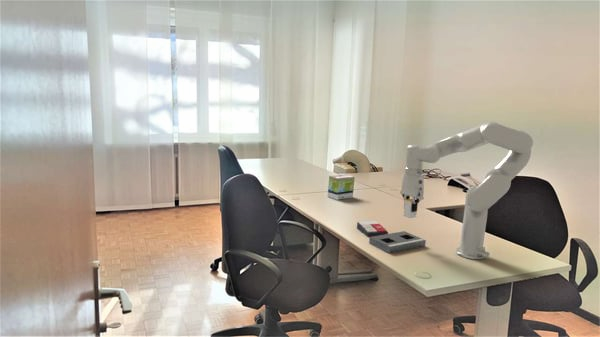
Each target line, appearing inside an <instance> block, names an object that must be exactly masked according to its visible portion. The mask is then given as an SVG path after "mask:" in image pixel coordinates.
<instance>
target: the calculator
mask: <svg viewBox="0 0 600 337" xmlns="http://www.w3.org/2000/svg"><path fill="white" fill-rule="evenodd" d="M356 229H357V230H358V231H359V232H361V234H363V235H365V237H366V238H370V237H373V236H379V235H385V234H389V231H388V230H387V229H386V228H385V227H383V226H382V224H380V223H379V222H377V221H357V224H356Z"/></svg>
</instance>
